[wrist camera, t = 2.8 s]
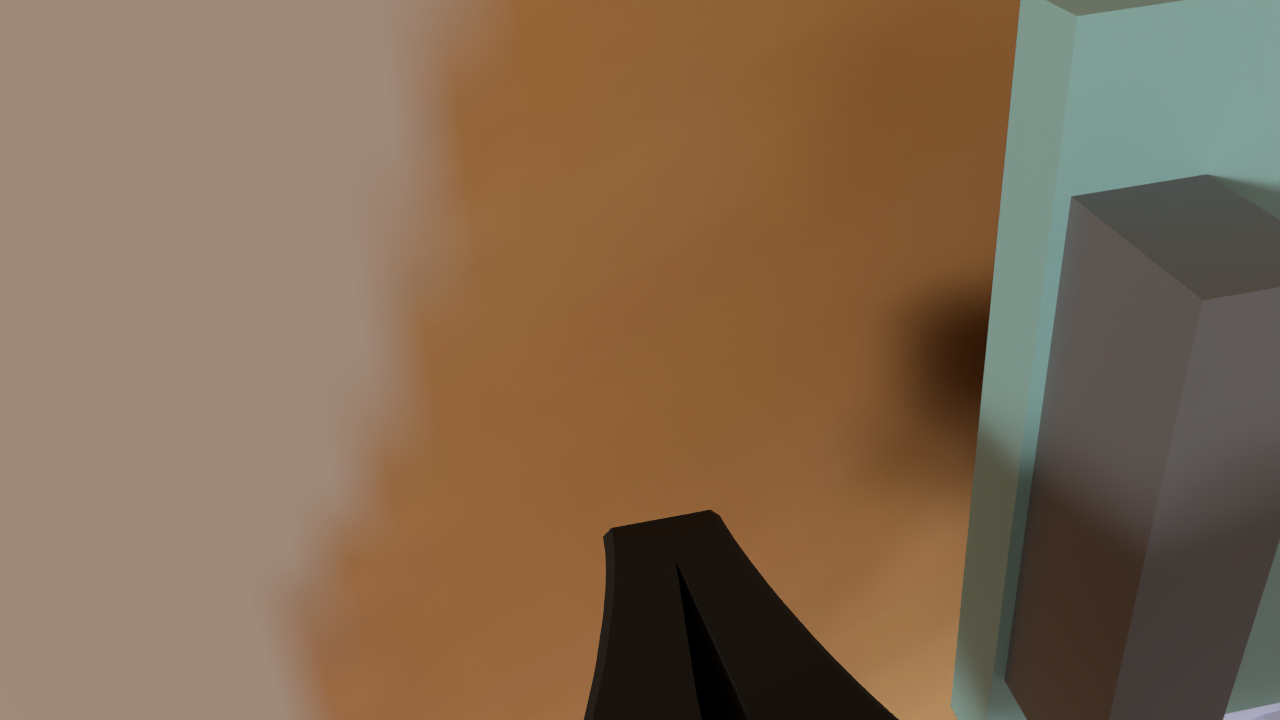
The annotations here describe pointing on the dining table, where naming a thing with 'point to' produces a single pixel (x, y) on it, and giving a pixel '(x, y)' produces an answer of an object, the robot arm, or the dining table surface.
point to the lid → (1131, 373)
